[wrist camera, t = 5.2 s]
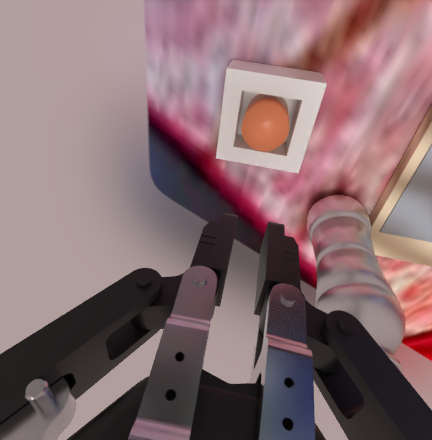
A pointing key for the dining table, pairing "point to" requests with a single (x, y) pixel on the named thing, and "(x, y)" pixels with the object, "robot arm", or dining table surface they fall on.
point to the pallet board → (407, 204)
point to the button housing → (276, 86)
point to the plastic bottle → (353, 271)
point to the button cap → (266, 122)
